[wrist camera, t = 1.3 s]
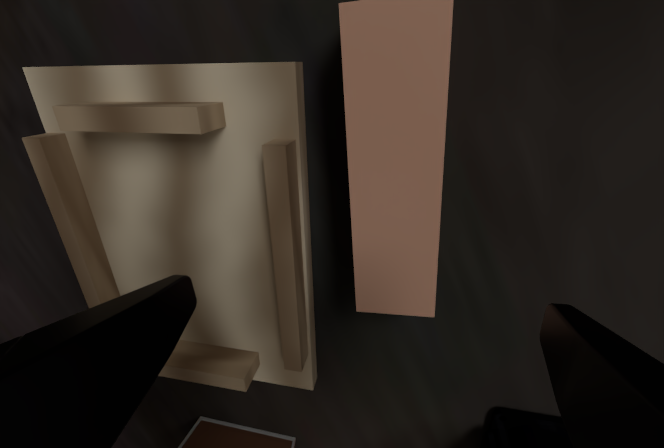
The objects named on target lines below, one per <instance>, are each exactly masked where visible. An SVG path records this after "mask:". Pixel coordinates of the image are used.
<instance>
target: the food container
mask: <svg viewBox="0 0 664 448" xmlns="http://www.w3.org/2000/svg"><path fill="white" fill-rule="evenodd" d="M295 444H296V438H294V437H290V436H285V435H281V434H276V433H272V432H268V431H263V430H259V429H254V428H250V427H246V426H241V425H237V424H232V423H228V422H223V421H219V420H215V419H210V418H206V417H201V416H200V418H199V419H198V420H197V422H196V423H195V425H194V426H193V427H192V429H191V430H190V432H189V433H188V434H187V436H186V437H185V439H184V440H183V441H182V443H181V444H180V445H179V447H178V448H295Z"/></svg>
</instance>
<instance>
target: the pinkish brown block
mask: <svg viewBox="0 0 664 448" xmlns="http://www.w3.org/2000/svg"><path fill="white" fill-rule="evenodd" d="M339 16H340V34H341V51H342V69H343V86H344V104H345V121H346V139H347V156H348V174H349V191H350V209H351V226H352V244H353V261H354V279H355V296H356V311H357V312H371V313H384V314H397V315H411V316H424V317H434V315H435V299H436V282H437V265H438V249H439V232H440V215H441V199H442V182H443V165H444V149H445V132H446V116H447V99H448V82H449V66H450V49H451V32H452V16H453V0H360V1H352V2H345V3H339Z"/></svg>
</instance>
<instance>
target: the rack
mask: <svg viewBox="0 0 664 448" xmlns="http://www.w3.org/2000/svg"><path fill="white" fill-rule="evenodd" d="M22 68H23V71H24V74H25V76H26V79H27V82H28V85H29V87H30V90H31V93H32V96H33V98H34V101H35V104H36V107H37V109H38V112H39V115H40V118H41V120H42V123H43V126H44V129H45V131H46V133H45V134H40V135H35V136H29V137H24V138H22V140H23V142H24V145H25V148H26V150H27V153H28V155H29V158H30V160H31V163H32V165H33V168H34V170H35V173H36V175H37V178H38V180H39V183H40V185H41V188H42V191H43V193H44V196H45V198H46V201H47V203H48V206H49V208H50V211H51V213H52V216H53V218H54V221H55V223H56V226H57V228H58V231H59V234H60V236H61V239H62V241H63V244H64V246H65V249H66V251H67V254H68V256H69V259H70V261H71V264H72V266H73V269H74V271H75V274H76V277H77V279H78V282H79V284H80V287H81V289H82V292H83V294H84V297H85V299H86V302H87V304H88V307H89V308H92V307H94V306H97V305H99V304H102V303H104V302H107V301H109V300H112V299H114V298H117V297H119V296H122V295H124V294H127V293H129V292H132V291H134V290H137V289H139V288H142V287H144V286H147V285H149V284H152V283H154V282H157V281H159V280H162V279H164V278H167V277H169V276H172V275H176V274H177V275H187V276H189V277H190V278H191V280H192V283H193V287H194V291H195V294H196V298H197V305H196V308H195V310H194V312H193V314H192V316H191V318H190V320H189V322H188V324H187V326H186V328H185V330H184V332H183V333H182V335H181V337H180V339H179V341H178V343H177V345H176V347H175V349H174V351H173V352H172V354H171V356H170V358H169V359H168V361H167V363H166V364H165V366H164V367H163V369H162V370H161V372H160V373H159V375H158V376H163V377H168V378H173V379H179V380H184V381H190V382H195V383H201V384H206V385H211V386H217V387H222V388H228V389H233V390H239V391H244V392H246V391H247V389H248V387H249V385H250V383H251V381H252V380H257V381H262V382H268V383H274V384H279V385H285V386H291V387H297V388H302V389H308V390H313V389H314V386H315V383H316V379H317V364H316V343H315V321H314V299H313V278H312V256H311V235H310V213H309V192H308V170H307V149H306V127H305V106H304V84H303V63H302V62H264V63H214V64H164V65H114V66H63V67H22Z"/></svg>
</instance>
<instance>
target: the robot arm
mask: <svg viewBox="0 0 664 448" xmlns="http://www.w3.org/2000/svg"><path fill="white" fill-rule="evenodd" d="M196 305H197V298H196V294H195V291H194V287H193V283H192V280H191V278H190V277H189V276H187V275H177V274H176V275H172V276H169V277H167V278H164V279H162V280H159V281H157V282H154V283H152V284H149V285H147V286H144V287H142V288H139V289H137V290H134V291H132V292H129V293H127V294H124V295H122V296H119V297H117V298H114V299H112V300H109V301H107V302H104V303H102V304H99V305H97V306H94V307H92V308H89V309H87V310H84V311H82V312H79V313H77V314H74V315H72V316H69V317H67V318H64V319H62V320H59V321H57V322H55V323H52V324H50V325H47V326H45V327H42V328H40V329H37V330H35V331H32V332H30V333H27V334H25V335H24V336H23V337H22V336H20V337H17V338H14V339H12V340H10V341H7V342H5V343H2V344H0V448H112V446H113V445H114V443H115V442H116V440H117V438H118V437H119V435H120V434H121V432H122V431H123V429H124V428H125V426H126V425H127V423H128V421H129V420H130V418H131V417H132V415H133V414H134V412H135V411H136V409H137V408H138V406H139V404H140V403H141V401H142V400H143V398H144V397H145V395H146V394H147V392H148V390H149V389H150V387H151V386H152V384H153V383H154V381H155V380H156V378H157V377H158V375H159V373H160V372H161V370H162V369H163V367H164V366H165V364H166V363H167V361H168V359H169V358H170V356H171V354H172V352H173V351H174V349H175V347H176V345H177V343H178V341H179V339H180V337H181V335H182V333H183V332H184V330H185V328H186V326H187V324H188V322H189V320H190V318H191V316H192V314H193V312H194V310H195V308H196ZM540 342H541V346H542V350H543V354H544V357H545V361H546V365H547V369H548V372H549V376H550V380H551V384H552V387H553V391H554V395H555V398H556V402H557V405H558V408H559V411H560V414H561V417H562V418H558V417H552V416H546V415H540V414H534V413H528V412H522V411H516V410H510V409H504V408H498V409H496V410H494V412H493V415H492V419H491V423H490V426H489V430H488V431H486V432H485V433H484V435H483V439H482V443H481V446H480V448H664V364H663V363H661V362H660V361H658V360H657V359H655V358H653V357H652V356H650V355H649V354H647V353H646V352H644V351H642V350H641V349H639V348H638V347H636V346H635V345H633V344H631V343H630V342H628V341H627V340H625V339H623V338H622V337H620V336H619V335H617V334H616V333H614V332H612V331H611V330H609V329H608V328H606V327H605V326H603V325H601V324H600V323H598V322H597V321H595V320H593V319H592V318H590V317H589V316H587V315H586V314H584V313H582V312H581V311H579V310H578V309H576V308H575V307H573V306H571V305H567V304H554V303H551V304H549V305H548V306H547V308H546V311H545V315H544V319H543V323H542V327H541V330H540Z"/></svg>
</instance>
